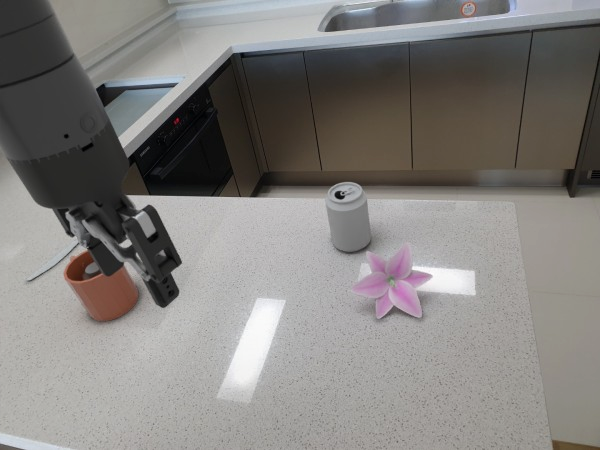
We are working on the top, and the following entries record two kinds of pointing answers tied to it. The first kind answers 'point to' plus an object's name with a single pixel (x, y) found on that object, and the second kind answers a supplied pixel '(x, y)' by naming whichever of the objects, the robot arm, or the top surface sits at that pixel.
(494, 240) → the top surface
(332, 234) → the can
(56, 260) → the butter knife
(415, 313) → the lily
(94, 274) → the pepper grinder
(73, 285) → the terracotta plant pot
